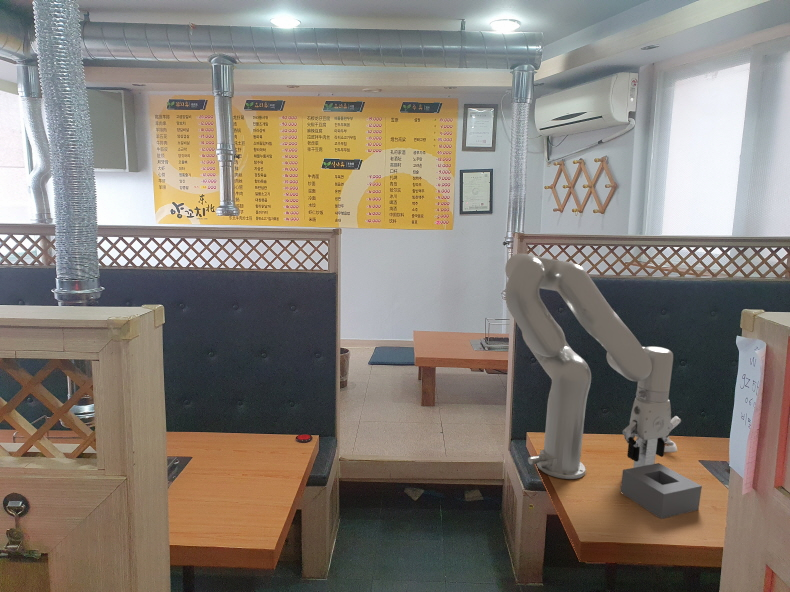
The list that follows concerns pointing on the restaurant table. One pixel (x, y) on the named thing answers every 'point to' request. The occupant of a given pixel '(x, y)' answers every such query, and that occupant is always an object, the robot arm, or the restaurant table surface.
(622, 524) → the restaurant table surface
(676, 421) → the hook
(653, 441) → the steel post
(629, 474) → the well block
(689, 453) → the restaurant table surface
